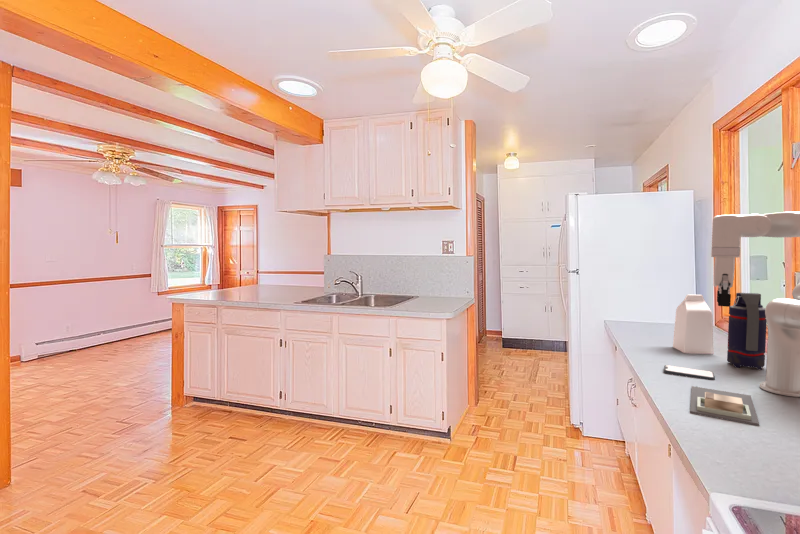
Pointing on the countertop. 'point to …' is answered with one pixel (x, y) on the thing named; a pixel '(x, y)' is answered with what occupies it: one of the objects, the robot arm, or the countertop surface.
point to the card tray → (723, 412)
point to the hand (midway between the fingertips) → (723, 304)
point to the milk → (694, 326)
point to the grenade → (747, 331)
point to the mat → (745, 398)
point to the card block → (723, 402)
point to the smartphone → (689, 372)
